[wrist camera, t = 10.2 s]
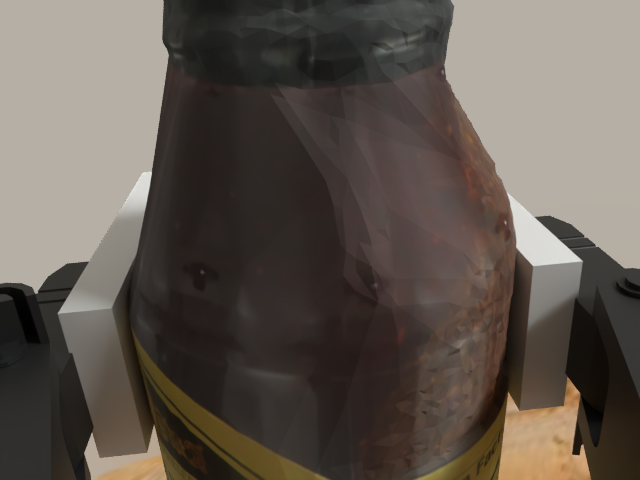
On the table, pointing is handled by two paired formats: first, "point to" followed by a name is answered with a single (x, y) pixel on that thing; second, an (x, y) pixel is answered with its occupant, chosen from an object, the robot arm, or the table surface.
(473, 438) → the sauce bottle
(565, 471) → the table surface
